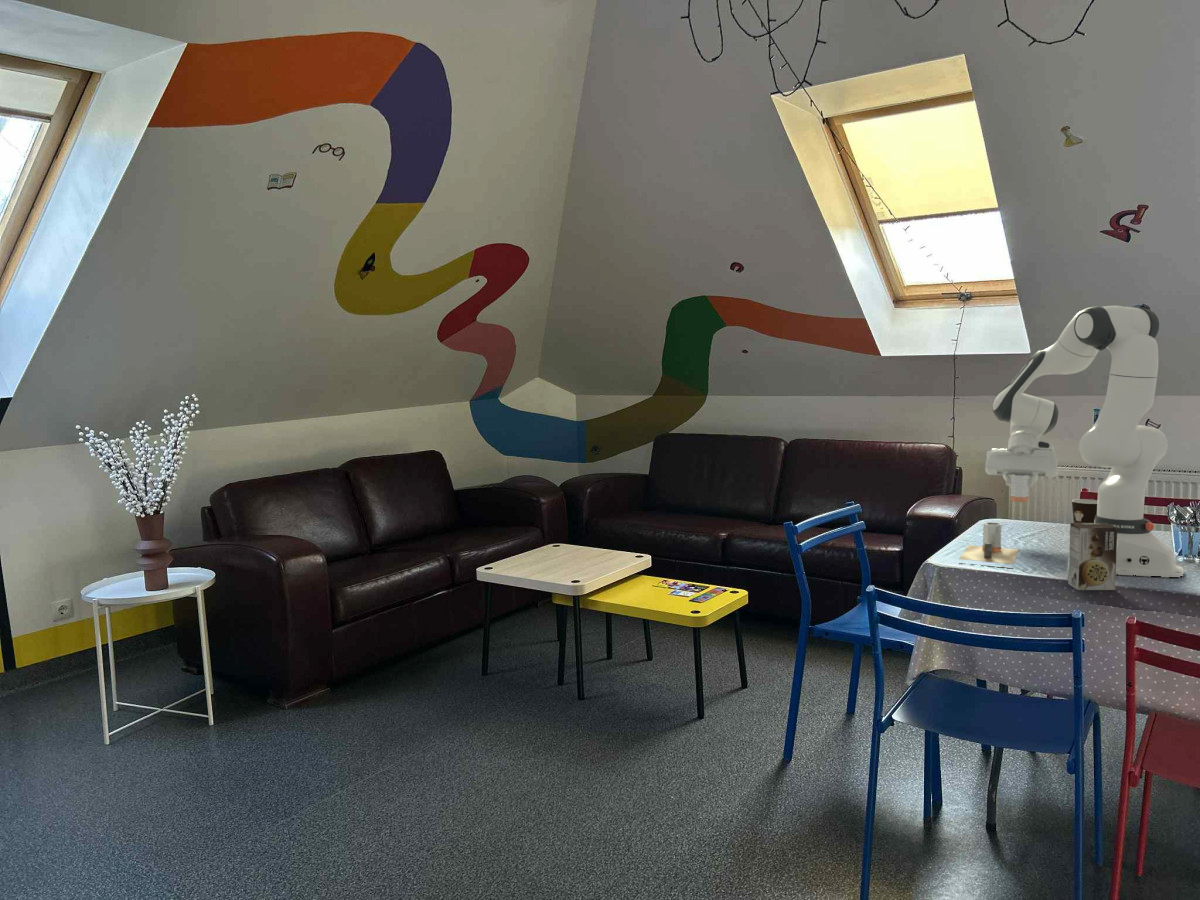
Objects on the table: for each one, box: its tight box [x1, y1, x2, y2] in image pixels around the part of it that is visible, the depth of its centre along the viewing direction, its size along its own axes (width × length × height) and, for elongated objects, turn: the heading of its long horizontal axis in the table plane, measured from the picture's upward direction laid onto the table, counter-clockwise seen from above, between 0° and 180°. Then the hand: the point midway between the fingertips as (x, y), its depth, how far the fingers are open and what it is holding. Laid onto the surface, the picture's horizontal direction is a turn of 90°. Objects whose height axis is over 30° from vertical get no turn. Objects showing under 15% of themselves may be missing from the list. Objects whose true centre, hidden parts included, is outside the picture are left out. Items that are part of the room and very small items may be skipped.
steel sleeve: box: [1009, 474, 1030, 503], centre depth 275 cm, size 5×5×8 cm
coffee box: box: [1067, 522, 1117, 591], centre depth 229 cm, size 9×6×16 cm
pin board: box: [958, 543, 1020, 570], centre depth 261 cm, size 14×20×6 cm
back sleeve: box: [981, 521, 1002, 553], centre depth 265 cm, size 5×5×8 cm
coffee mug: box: [1071, 498, 1098, 523], centre depth 296 cm, size 12×9×10 cm
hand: (1019, 485), depth 275 cm, fingers closed on steel sleeve, 5 cm apart
